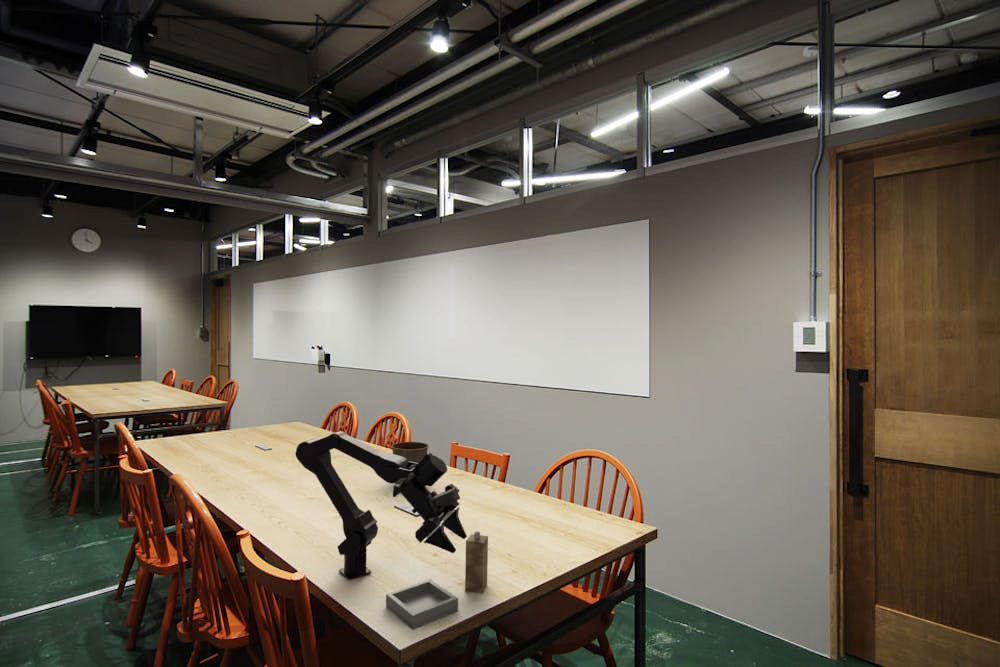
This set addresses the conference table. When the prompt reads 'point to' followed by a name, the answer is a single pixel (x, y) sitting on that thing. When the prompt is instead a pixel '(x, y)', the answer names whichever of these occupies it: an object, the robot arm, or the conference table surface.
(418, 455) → the plant pot
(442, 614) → the tray
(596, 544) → the conference table surface
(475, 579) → the block
